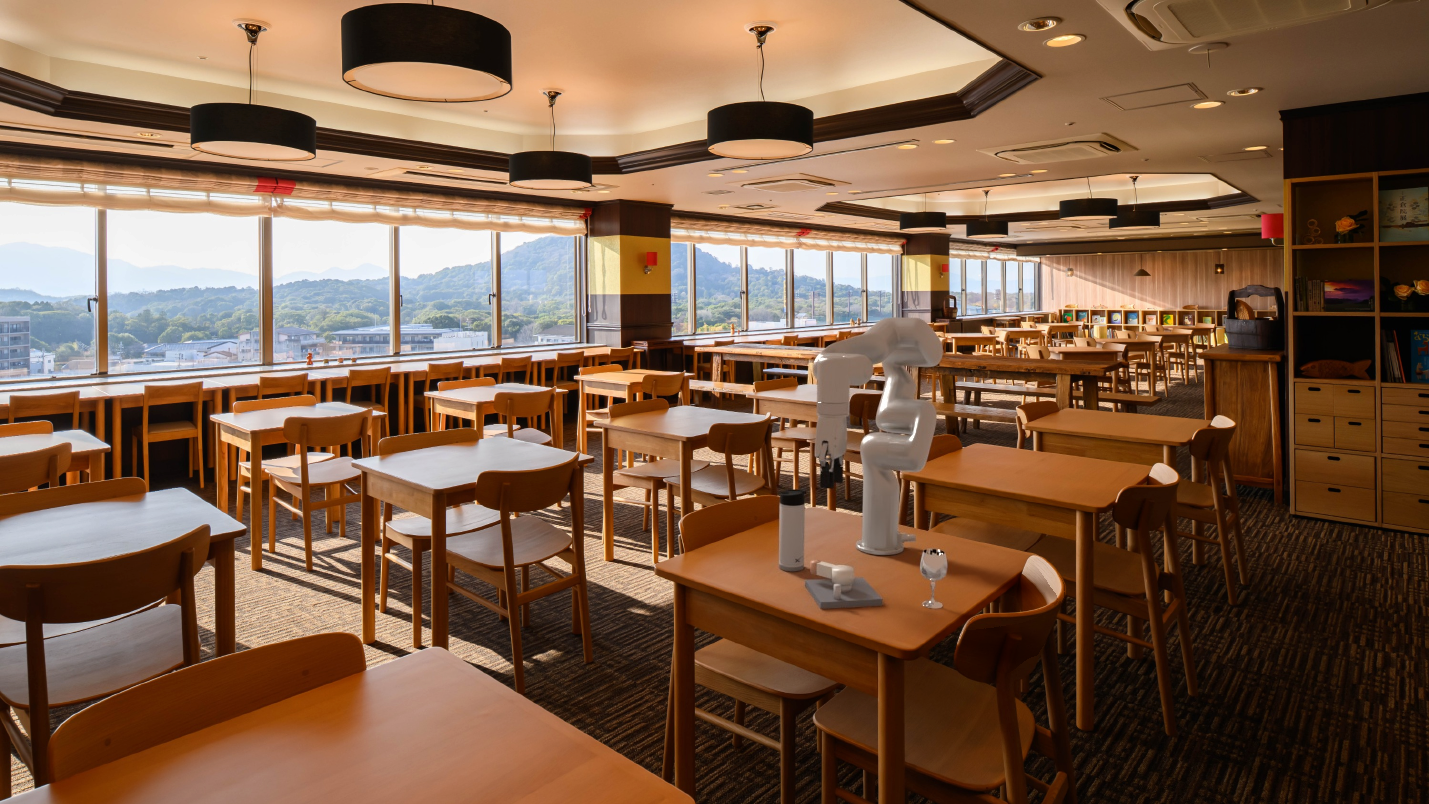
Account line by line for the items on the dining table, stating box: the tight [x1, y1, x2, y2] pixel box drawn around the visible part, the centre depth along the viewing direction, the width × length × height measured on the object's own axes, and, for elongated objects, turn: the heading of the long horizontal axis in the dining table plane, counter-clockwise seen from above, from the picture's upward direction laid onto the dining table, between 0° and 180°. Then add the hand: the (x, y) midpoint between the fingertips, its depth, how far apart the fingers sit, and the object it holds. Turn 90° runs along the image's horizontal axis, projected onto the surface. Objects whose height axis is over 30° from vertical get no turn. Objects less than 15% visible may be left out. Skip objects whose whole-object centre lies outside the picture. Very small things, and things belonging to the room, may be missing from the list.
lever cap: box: [809, 559, 855, 585], centre depth 180 cm, size 11×5×3 cm, turn 48°
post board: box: [804, 576, 884, 610], centre depth 179 cm, size 14×14×4 cm
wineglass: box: [919, 548, 948, 610], centre depth 173 cm, size 6×6×12 cm
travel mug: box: [778, 488, 807, 573], centre depth 196 cm, size 6×7×20 cm
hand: (831, 484), depth 186 cm, fingers open, 5 cm apart
